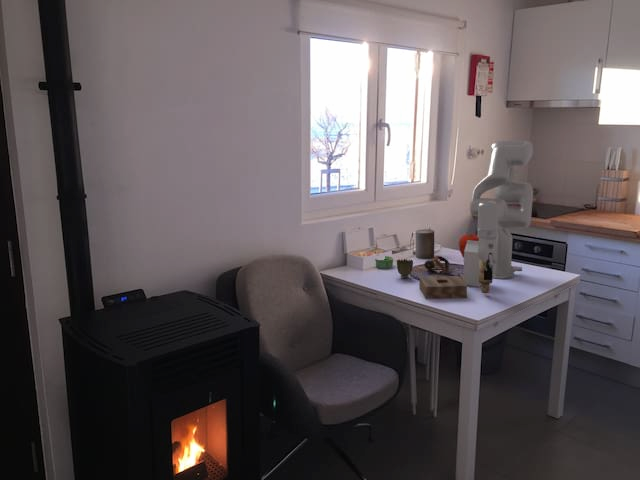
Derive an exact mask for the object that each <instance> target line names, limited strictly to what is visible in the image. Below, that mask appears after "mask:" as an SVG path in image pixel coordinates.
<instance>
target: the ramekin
mask: <svg viewBox="0 0 640 480" xmlns="http://www.w3.org/2000/svg"><path fill="white" fill-rule="evenodd" d="M384 256H385V259H384V260H377V259H375V258H374V259H375V266H377V267H376V268H378V269H382V270H384V269H386V270H387V269H392V268H393V265H394V264H393V263H394V257H392V256H389V255H384Z"/></svg>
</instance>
